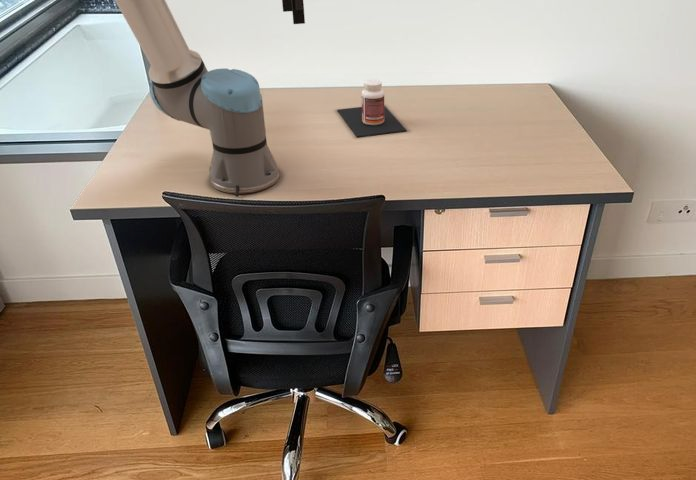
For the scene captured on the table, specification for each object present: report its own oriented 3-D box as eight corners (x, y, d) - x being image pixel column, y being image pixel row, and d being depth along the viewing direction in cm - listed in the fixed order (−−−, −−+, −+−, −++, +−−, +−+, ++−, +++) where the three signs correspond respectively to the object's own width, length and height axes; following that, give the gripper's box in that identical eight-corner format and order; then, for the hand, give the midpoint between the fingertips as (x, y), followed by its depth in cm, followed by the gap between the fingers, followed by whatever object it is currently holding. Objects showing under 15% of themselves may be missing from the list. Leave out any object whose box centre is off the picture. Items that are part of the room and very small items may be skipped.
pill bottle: (389, 122, 162) (389, 82, 156) (372, 128, 159) (372, 87, 152) (374, 116, 166) (373, 76, 159) (357, 121, 162) (356, 81, 156)
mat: (406, 131, 158) (406, 129, 158) (356, 137, 154) (356, 136, 154) (383, 105, 173) (383, 104, 173) (337, 110, 170) (337, 109, 169)
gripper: (313, -75, 127) (319, 28, 140) (291, -87, 146) (298, 5, 159) (279, -75, 125) (288, 30, 138) (260, -86, 144) (270, 7, 157)
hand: (293, 17), depth 148 cm, fingers open, 13 cm apart
